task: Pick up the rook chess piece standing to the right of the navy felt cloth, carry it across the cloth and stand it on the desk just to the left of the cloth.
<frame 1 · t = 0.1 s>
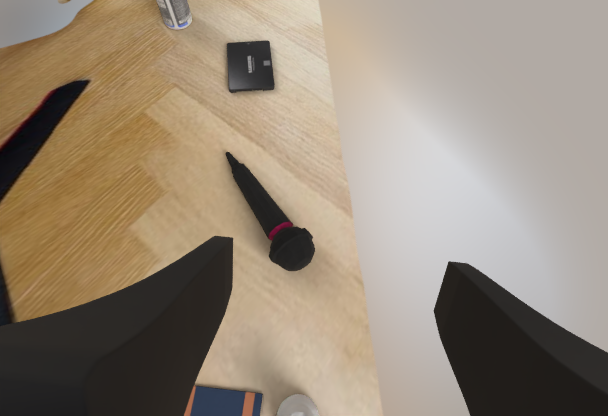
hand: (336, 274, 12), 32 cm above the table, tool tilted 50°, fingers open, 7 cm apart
solid state drive: (250, 68, 58), on the table
pill bottle: (178, 22, 62), on the table
microphone: (268, 210, 48), on the table
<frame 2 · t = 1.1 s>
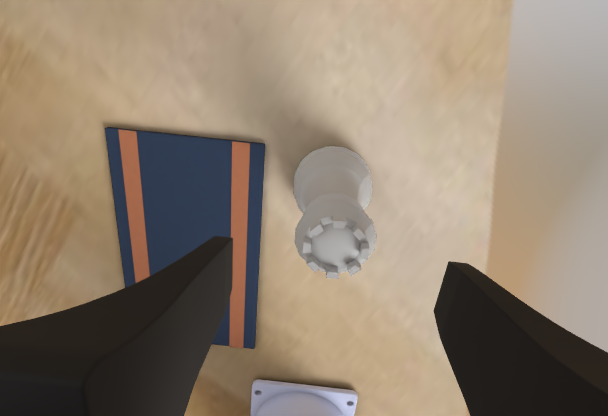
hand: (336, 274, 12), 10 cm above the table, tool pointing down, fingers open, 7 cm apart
rook chess piece: (332, 180, 21), on the table
cloth: (190, 250, 23), on the table
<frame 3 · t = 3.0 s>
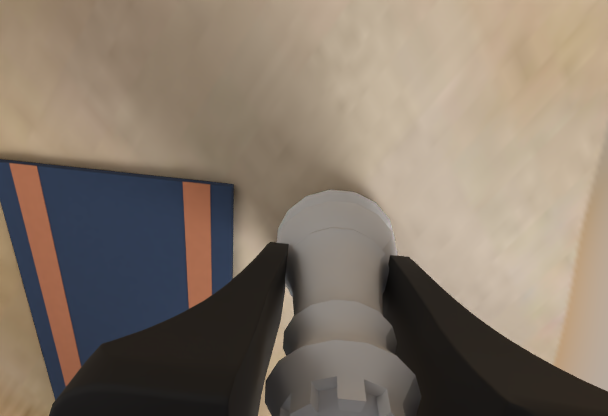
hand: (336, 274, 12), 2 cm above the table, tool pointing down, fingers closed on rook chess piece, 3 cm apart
rook chess piece: (334, 236, 14), on the table, touching gripper
cloth: (134, 326, 16), on the table
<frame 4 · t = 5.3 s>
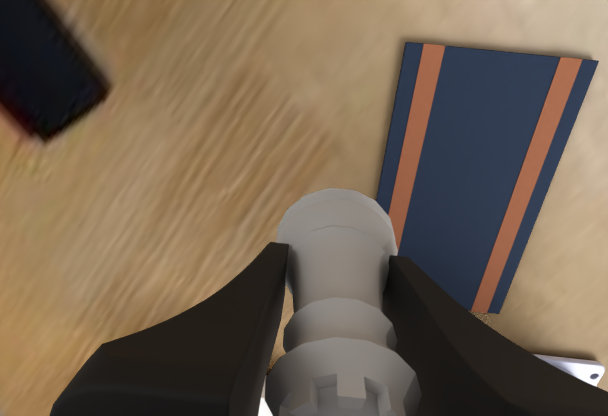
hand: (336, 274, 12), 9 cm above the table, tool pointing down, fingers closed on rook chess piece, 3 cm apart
rook chess piece: (334, 234, 14), point 7 cm above the table, touching gripper
cloth: (458, 196, 20), on the table
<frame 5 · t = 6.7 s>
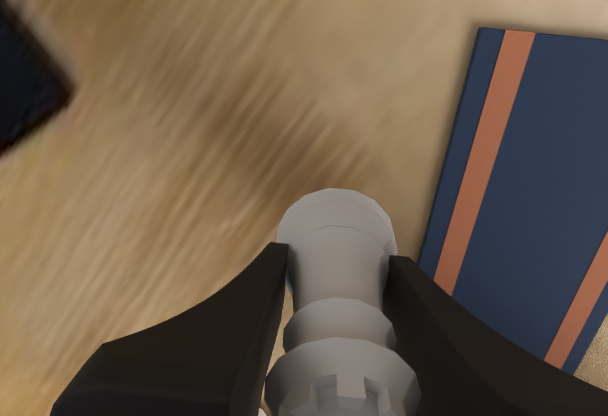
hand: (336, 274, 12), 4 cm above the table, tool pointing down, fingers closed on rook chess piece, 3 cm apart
rook chess piece: (334, 234, 14), point 2 cm above the table, touching gripper
cloth: (532, 232, 15), on the table
when the fingers open (2 cm above the table, at t = 7.7 s): rook chess piece stays where it is, on the table.
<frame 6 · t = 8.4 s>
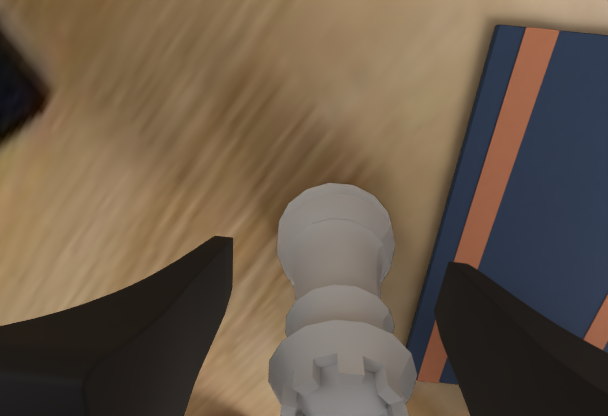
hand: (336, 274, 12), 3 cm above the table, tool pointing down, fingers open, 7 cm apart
rook chess piece: (334, 228, 15), on the table
cloth: (550, 248, 14), on the table
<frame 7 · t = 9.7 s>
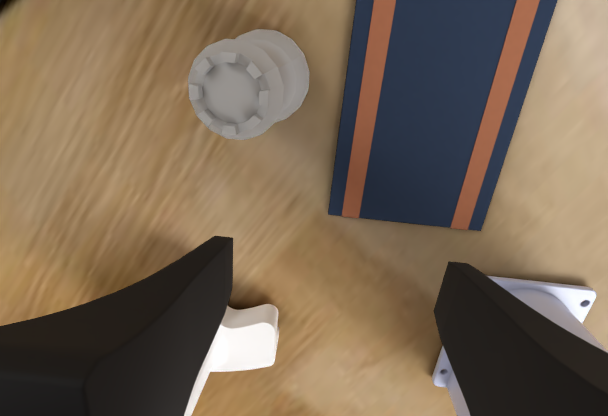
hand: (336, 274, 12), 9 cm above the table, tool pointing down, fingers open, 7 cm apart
rook chess piece: (267, 77, 19), on the table
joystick: (200, 302, 25), on the table
cloth: (433, 89, 18), on the table
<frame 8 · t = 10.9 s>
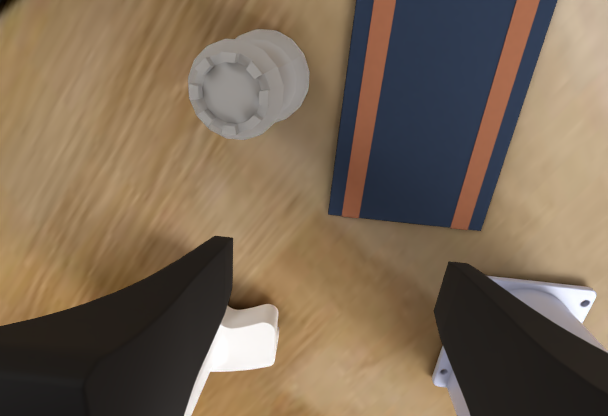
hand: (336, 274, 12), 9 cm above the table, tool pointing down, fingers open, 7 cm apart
rook chess piece: (267, 77, 19), on the table
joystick: (200, 302, 25), on the table
cloth: (433, 89, 18), on the table
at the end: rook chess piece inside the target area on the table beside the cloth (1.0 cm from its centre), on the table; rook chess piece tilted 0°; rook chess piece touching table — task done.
